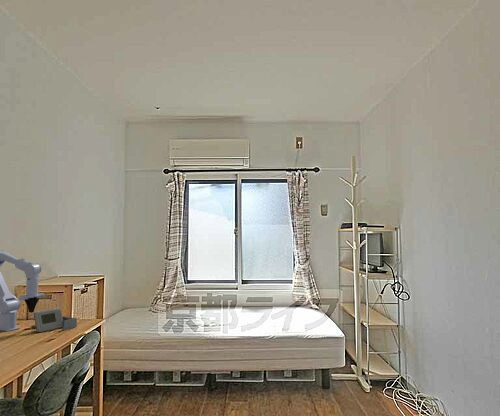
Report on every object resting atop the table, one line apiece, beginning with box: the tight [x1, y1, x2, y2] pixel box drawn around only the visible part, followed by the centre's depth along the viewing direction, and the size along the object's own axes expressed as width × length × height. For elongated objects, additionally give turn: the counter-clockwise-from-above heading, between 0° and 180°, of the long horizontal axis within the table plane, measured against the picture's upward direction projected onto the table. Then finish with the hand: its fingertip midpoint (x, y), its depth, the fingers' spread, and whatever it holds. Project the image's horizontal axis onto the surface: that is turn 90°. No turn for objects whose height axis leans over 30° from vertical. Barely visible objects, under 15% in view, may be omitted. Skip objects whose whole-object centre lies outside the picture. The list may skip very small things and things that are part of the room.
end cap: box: [61, 316, 78, 331], centre depth 236 cm, size 14×9×5 cm, turn 68°
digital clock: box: [33, 307, 63, 333], centre depth 231 cm, size 16×9×11 cm, turn 139°
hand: (31, 312), depth 228 cm, fingers closed
